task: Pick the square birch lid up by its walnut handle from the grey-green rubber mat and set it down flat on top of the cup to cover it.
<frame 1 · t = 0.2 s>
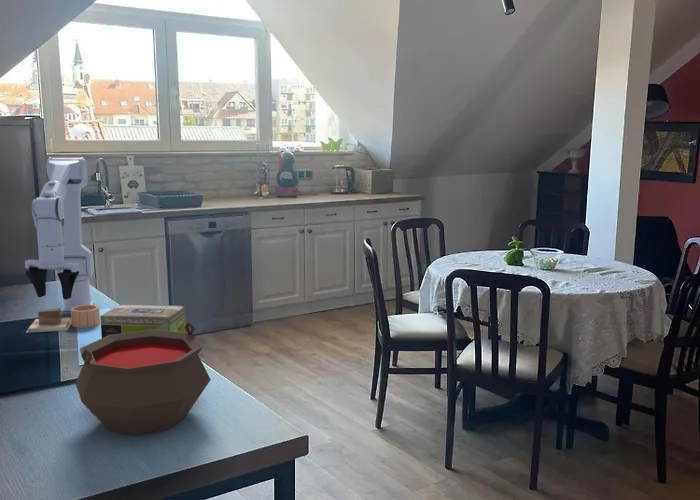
hand: (54, 297, 169), 10 cm above the counter, tool pointing down, fingers open, 7 cm apart
cup: (86, 325, 177), on the counter
mat: (50, 327, 175), on the counter
lid: (50, 325, 175), point 1 cm above the counter, touching mat
brown cauldron: (145, 419, 122), on the counter
tea box: (147, 376, 143), on the counter
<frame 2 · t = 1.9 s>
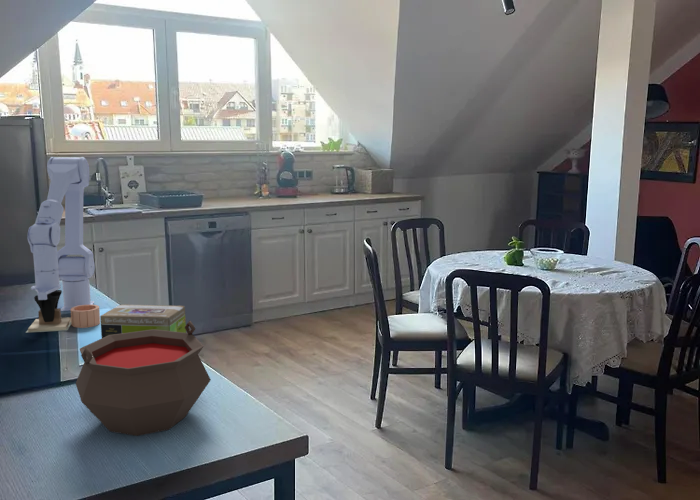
hand: (50, 319, 175), 2 cm above the counter, tool pointing down, fingers closed on lid, 2 cm apart
lid: (50, 325, 175), point 1 cm above the counter, touching gripper, mat
everything else where it was.
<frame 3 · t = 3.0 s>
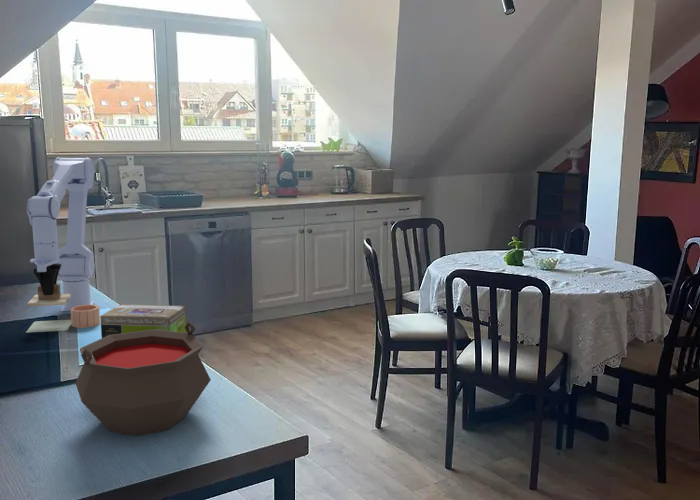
hand: (49, 293, 174), 9 cm above the counter, tool pointing down, fingers closed on lid, 2 cm apart
lid: (49, 301, 174), point 7 cm above the counter, touching gripper
everything else where it was.
when the fingers open (8 cm above the counter, at t = 4.1 s): lid stays where it is, resting on cup.
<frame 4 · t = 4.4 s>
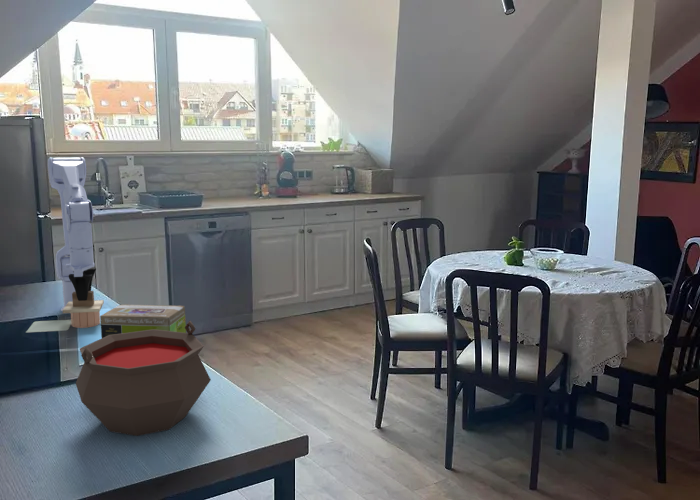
hand: (84, 297, 176), 8 cm above the counter, tool pointing down, fingers open, 5 cm apart
lid: (83, 307, 177), point 5 cm above the counter, touching cup
everything else where it was.
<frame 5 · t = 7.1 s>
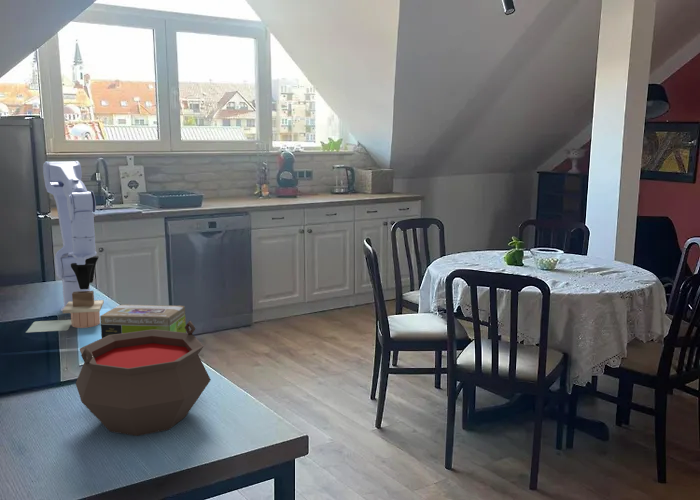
hand: (86, 285, 180), 10 cm above the counter, tool pointing down, fingers open, 7 cm apart
nothing on the counter moved.
at the end: lid 0.3 cm from the cup (horizontally); lid point 5.0 cm above the counter; lid tilted 0° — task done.
